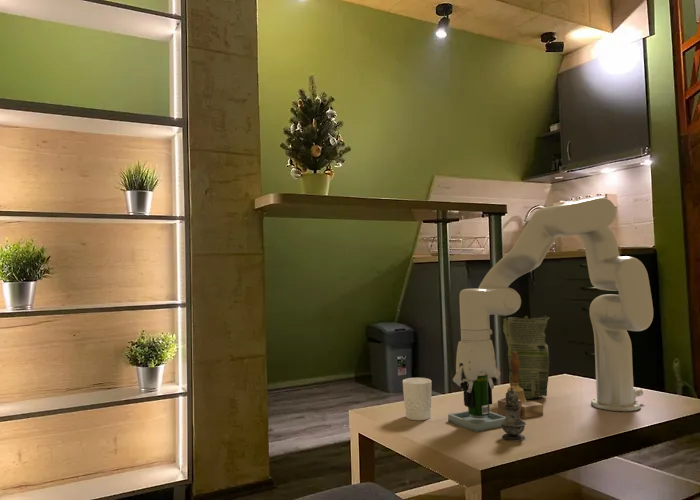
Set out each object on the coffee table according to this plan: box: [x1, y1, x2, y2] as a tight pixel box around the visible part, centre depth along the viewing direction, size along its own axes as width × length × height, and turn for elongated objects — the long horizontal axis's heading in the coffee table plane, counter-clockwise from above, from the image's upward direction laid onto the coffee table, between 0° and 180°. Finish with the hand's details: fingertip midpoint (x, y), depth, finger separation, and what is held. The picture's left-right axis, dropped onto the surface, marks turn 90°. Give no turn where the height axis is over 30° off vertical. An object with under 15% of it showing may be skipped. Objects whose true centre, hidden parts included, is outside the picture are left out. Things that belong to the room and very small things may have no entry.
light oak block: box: [522, 400, 544, 418], centre depth 148 cm, size 6×4×3 cm, turn 110°
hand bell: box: [506, 352, 528, 403], centre depth 156 cm, size 8×8×16 cm
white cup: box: [402, 377, 432, 421], centre depth 149 cm, size 8×8×10 cm
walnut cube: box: [497, 397, 523, 418], centre depth 146 cm, size 4×4×4 cm
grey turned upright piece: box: [500, 386, 527, 442], centre depth 129 cm, size 6×6×12 cm
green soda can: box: [467, 371, 490, 418], centre depth 142 cm, size 5×5×12 cm
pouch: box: [502, 314, 550, 400], centre depth 169 cm, size 11×12×25 cm
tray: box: [447, 410, 506, 433], centre depth 141 cm, size 11×11×2 cm
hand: (478, 404), depth 142 cm, fingers closed on green soda can, 5 cm apart
